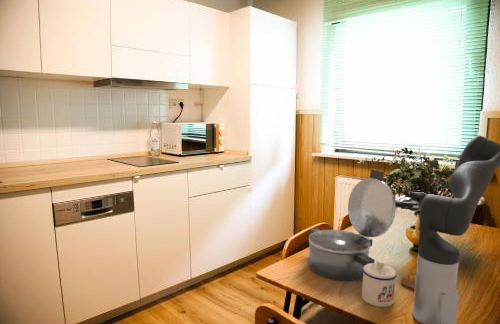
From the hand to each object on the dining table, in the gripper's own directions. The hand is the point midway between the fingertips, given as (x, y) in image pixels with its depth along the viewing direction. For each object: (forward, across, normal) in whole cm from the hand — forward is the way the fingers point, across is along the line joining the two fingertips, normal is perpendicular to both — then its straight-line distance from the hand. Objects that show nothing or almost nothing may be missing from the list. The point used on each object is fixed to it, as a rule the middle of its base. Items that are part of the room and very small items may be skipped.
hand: (386, 204), depth 124 cm
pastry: (+6, +21, +21) cm, 30 cm away
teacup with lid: (+22, +21, +20) cm, 37 cm away
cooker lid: (+8, 0, -2) cm, 9 cm away
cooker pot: (+20, 0, +20) cm, 29 cm away
